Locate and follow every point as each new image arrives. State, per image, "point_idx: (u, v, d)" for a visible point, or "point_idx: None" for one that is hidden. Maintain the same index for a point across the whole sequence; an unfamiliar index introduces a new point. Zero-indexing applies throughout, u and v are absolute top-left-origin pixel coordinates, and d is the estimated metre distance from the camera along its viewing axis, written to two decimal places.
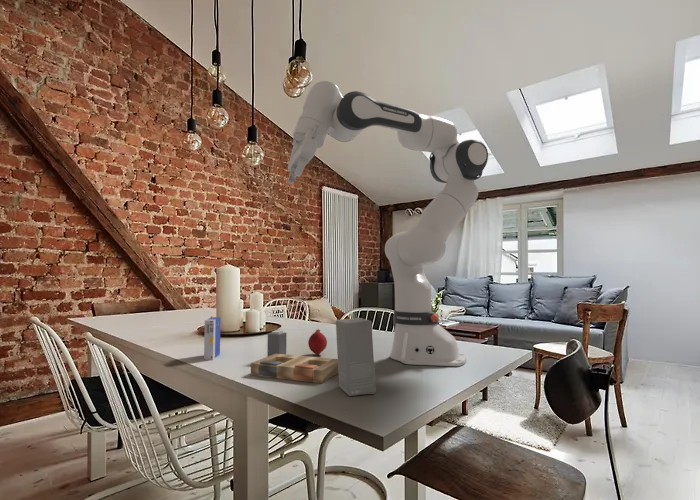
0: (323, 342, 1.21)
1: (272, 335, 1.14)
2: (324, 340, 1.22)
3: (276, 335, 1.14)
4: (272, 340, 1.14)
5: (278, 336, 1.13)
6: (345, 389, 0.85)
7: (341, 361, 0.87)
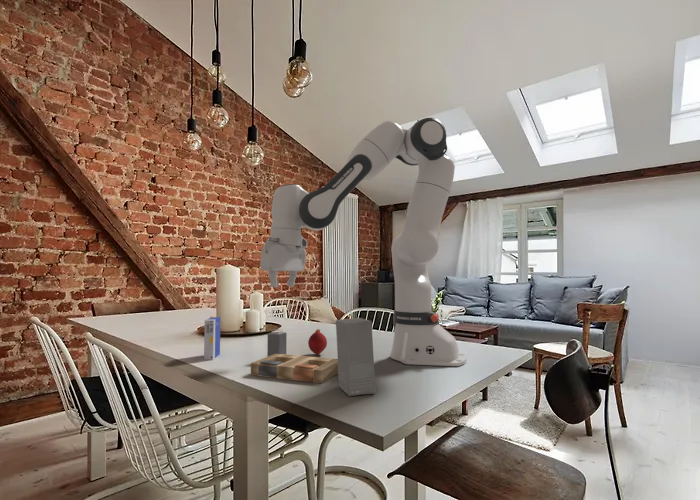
0: (323, 342, 1.21)
1: (272, 335, 1.14)
2: (324, 340, 1.22)
3: (276, 335, 1.14)
4: (272, 340, 1.14)
5: (278, 336, 1.13)
6: (345, 389, 0.85)
7: (341, 361, 0.87)
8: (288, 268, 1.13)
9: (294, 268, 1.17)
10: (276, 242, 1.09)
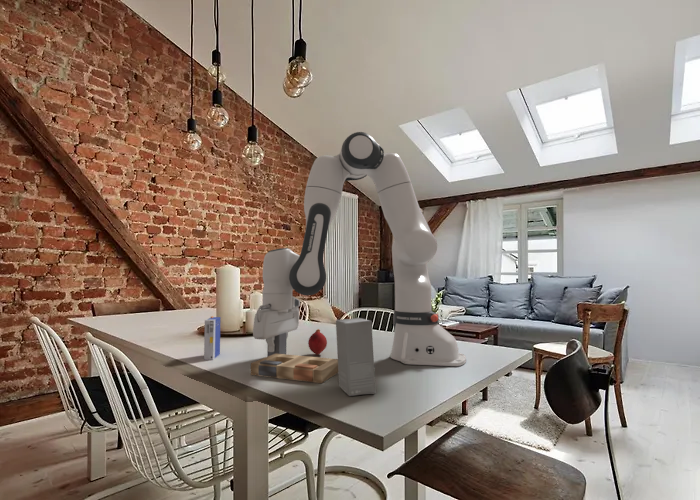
0: (323, 342, 1.21)
1: None
2: (324, 340, 1.22)
3: None
4: None
5: (278, 336, 1.13)
6: (345, 389, 0.85)
7: (341, 361, 0.87)
8: (281, 331, 1.15)
9: (288, 330, 1.18)
10: (268, 309, 1.11)
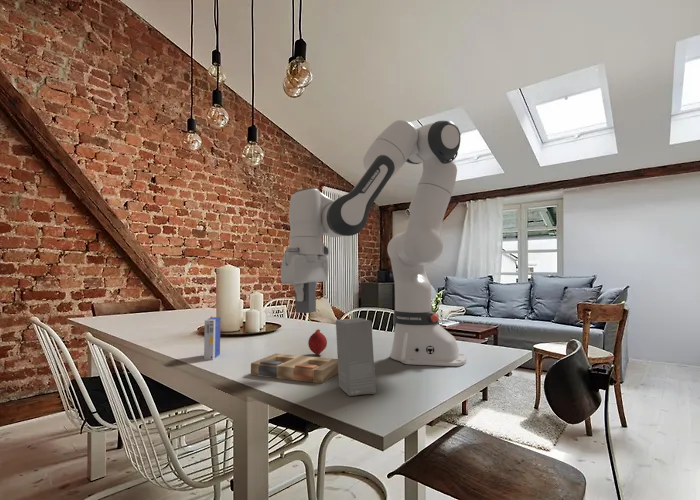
0: (323, 342, 1.21)
1: None
2: (324, 340, 1.22)
3: (305, 283, 1.03)
4: None
5: (307, 284, 1.02)
6: (345, 389, 0.85)
7: (341, 361, 0.87)
8: (311, 280, 1.04)
9: (317, 279, 1.07)
10: (296, 252, 1.00)
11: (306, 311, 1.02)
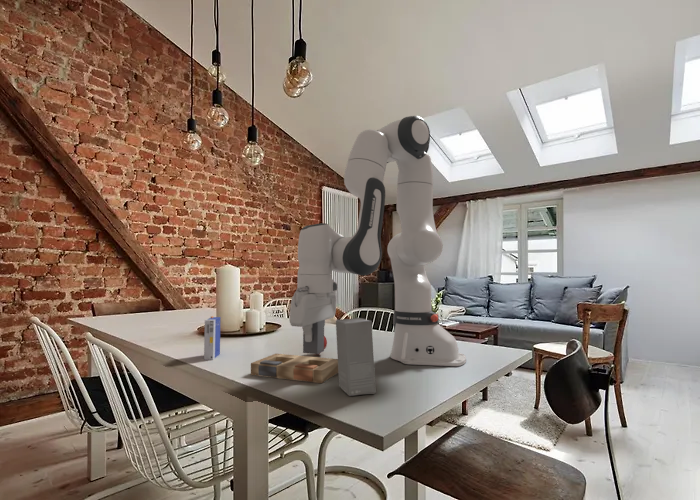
0: None
1: None
2: (324, 340, 1.22)
3: None
4: None
5: (316, 323, 0.98)
6: (345, 389, 0.85)
7: (341, 361, 0.87)
8: (319, 319, 1.00)
9: (326, 317, 1.03)
10: (306, 291, 0.96)
11: (314, 352, 0.98)
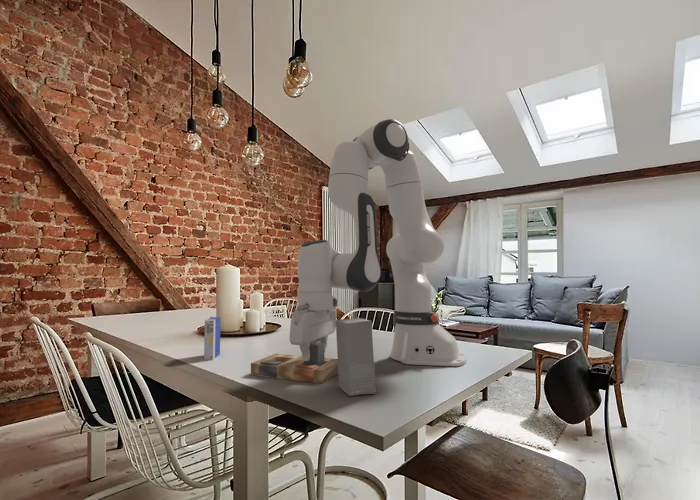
0: None
1: None
2: None
3: (314, 346, 0.98)
4: None
5: (316, 347, 0.98)
6: (345, 389, 0.85)
7: (341, 361, 0.87)
8: (319, 336, 0.99)
9: (326, 333, 1.03)
10: (305, 309, 0.96)
11: None
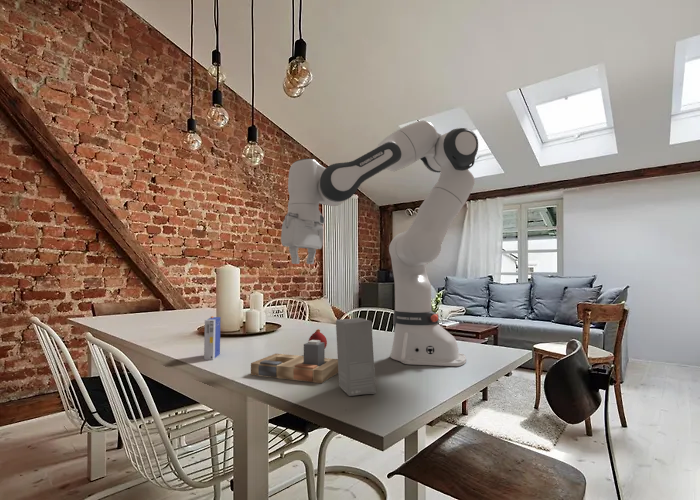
0: None
1: (309, 346, 0.99)
2: (324, 340, 1.22)
3: (314, 346, 0.98)
4: (309, 351, 0.99)
5: (316, 347, 0.98)
6: (345, 389, 0.85)
7: (341, 361, 0.87)
8: (308, 244, 1.11)
9: (313, 245, 1.15)
10: (295, 217, 1.07)
11: None
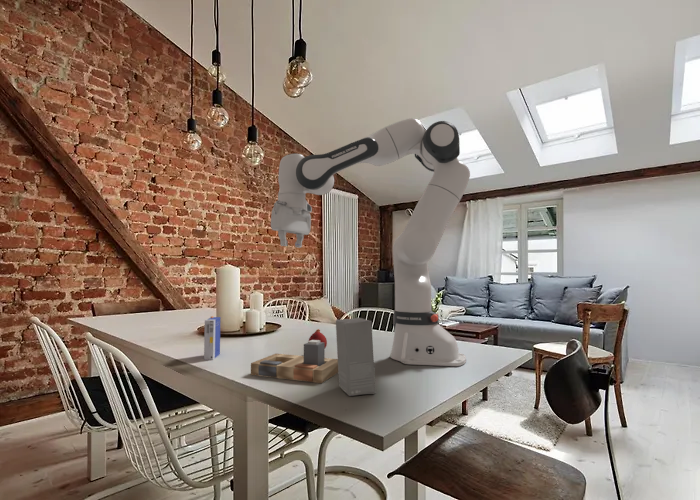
0: None
1: (309, 346, 0.99)
2: (324, 340, 1.22)
3: (314, 346, 0.98)
4: (309, 351, 0.99)
5: (316, 347, 0.98)
6: (345, 389, 0.85)
7: (341, 361, 0.87)
8: (295, 229, 1.26)
9: (301, 231, 1.29)
10: (284, 205, 1.22)
11: None
